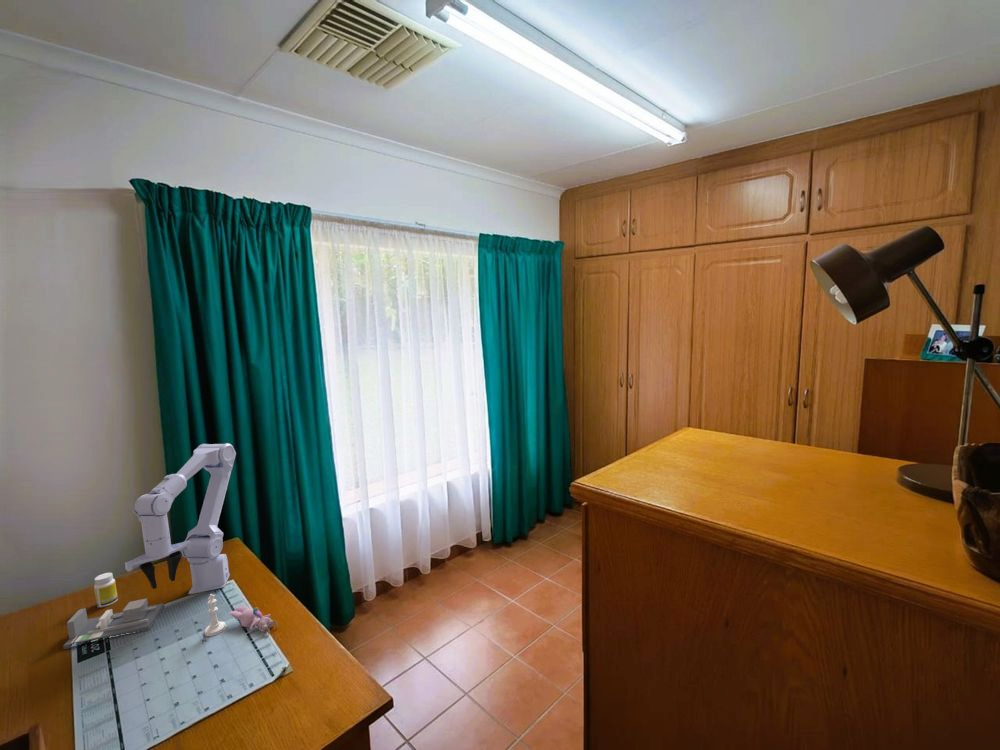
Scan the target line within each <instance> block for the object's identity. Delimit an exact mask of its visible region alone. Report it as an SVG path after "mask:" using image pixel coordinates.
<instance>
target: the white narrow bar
mask: <svg viewBox="0 0 1000 750" xmlns="http://www.w3.org/2000/svg"><path fill="white" fill-rule="evenodd" d="M113 614H114V613H113V609H112V608H111V609H107V610H105V612H104V613H103V614H102V615H101V616H102V617H101V616H100V617H101V618H100V619H99V623H98V624H97V625H96V628H98V627H99V626H100V629H102V628H106V627H107V626H108V625H109V624H110V623H111V621H112V620H113V619H110V617H111V615H113Z"/></svg>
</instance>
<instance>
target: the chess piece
mask: <svg viewBox="0 0 1000 750" xmlns="http://www.w3.org/2000/svg"><path fill="white" fill-rule="evenodd" d="M215 597H216V594H213V593H210V594H209V597H207V600H208V601H207V605H208V607H209V609H208V610H207V612H208V613H209V614H210V624H209V625H208V626H207V627H205V629H204V636H206V637H212V636H217V635H219V634H221V633H222V632H224V631H225V630H226V628H227V624H226V622H225V621H219V619H218V616H217V612H216V611H218V610H219V608H218V607H217V606H216V605H217V601H218V600H217V599H216V598H215Z"/></svg>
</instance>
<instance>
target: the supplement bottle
mask: <svg viewBox="0 0 1000 750" xmlns="http://www.w3.org/2000/svg"><path fill="white" fill-rule="evenodd" d="M116 583H117V582H116V579H115V578H114V575H113V573H112V572H104V573H102V574H98V575H97V576H96V577H94V586H93V591H94V595H95V602H96V606H97V608H105V607H109V606H111V605H114V603H116V602H118V600H119V596H118V590H117V584H116Z"/></svg>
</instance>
